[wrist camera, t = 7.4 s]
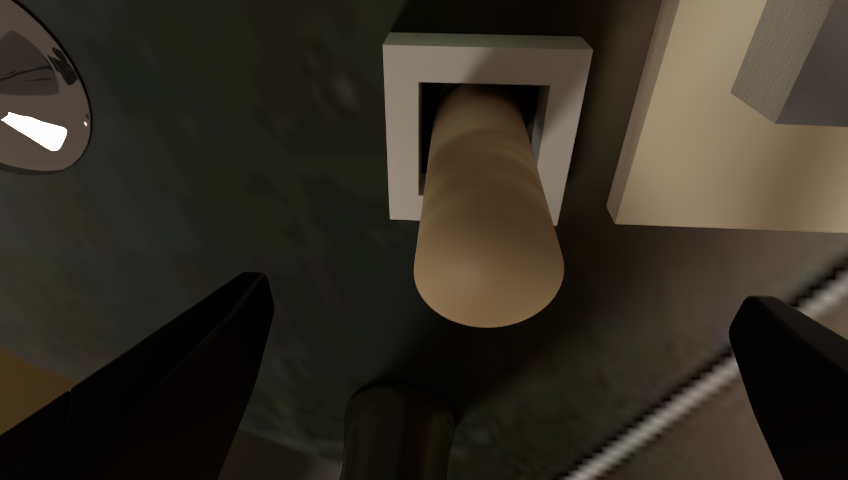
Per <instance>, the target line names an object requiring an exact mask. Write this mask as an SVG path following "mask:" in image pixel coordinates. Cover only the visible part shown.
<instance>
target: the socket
mask: <svg viewBox="0 0 848 480" xmlns="http://www.w3.org/2000/svg"><path fill="white" fill-rule="evenodd" d="M592 53H593V49H592V48H591V47H590V46H589V45H588V44H587V42H586V41H585V40H584V39H583V38H582V37H581V36H539V35H492V34H444V33H397V32H390V33H389V34H388V36H387V38H386V40H385V42H384V44H383V62H384V86H385V110H386V134H387V158H388V183H389V207H390V219H398V220H420V218H421V211H422V203H423V196H424V188H425V181H426V174H423V173H421V163H422V82H436V83H475V84H513V85H540V89H539V95H538V102H537V109H536V115H535V122H534V129H533V135H532V142H531V148H532V152H533V155H534V159H535V162H536V165H537V169H538V172H539V176H540V179H541V183H542V186H543V190H544V193H545V197H546V200H547V204H548V207H549V211H550V214H551V218H552V221H553V225H554V226H557V223H558V218H559V213H560V209H561V204H562V199H563V194H564V189H565V184H566V179H567V175H568V170H569V165H570V160H571V155H572V150H573V145H574V141H575V136H576V131H577V126H578V121H579V116H580V112H581V107H582V102H583V97H584V92H585V87H586V82H587V78H588V73H589V68H590V63H591V58H592Z"/></svg>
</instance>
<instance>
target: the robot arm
mask: <svg viewBox="0 0 848 480" xmlns="http://www.w3.org/2000/svg"><path fill="white" fill-rule="evenodd" d="M273 315H274V303H273V299H272V294H271V290H270V286H269V282H268V279H267V276H266V275H265V274H264V273H259V272H243V273H241V274H239V275H238V276H237V277H235V278H234V279H232V280H231V281H229V282H228V283H226V284H225V285H223V286H222V287H220V288H219V289H217V290H216V291H214V292H213V293H211V294H210V295H208V296H207V297H206V298H204V299H203V300H201V301H200V302H198V303H197V304H195V305H194V306H192V307H191V308H189V309H188V310H186V311H185V312H183V313H182V314H180V315H179V316H177V317H176V318H175V319H173V320H172V321H170V322H169V323H167V324H166V325H164V326H163V327H161V328H160V329H158V330H157V331H155V332H154V333H152V334H151V335H149V336H148V337H146V338H145V339H144V340H142V341H141V342H139V343H138V344H136V345H135V346H133V347H132V348H130V349H129V350H127V351H126V352H124V353H123V354H121V355H120V356H118V357H117V358H115V359H114V360H112V361H111V362H110V363H108V364H107V365H105V366H104V367H102V368H101V369H99V370H98V371H96V372H95V373H93V374H92V375H90V376H89V377H87V378H86V379H84V380H83V381H81V382H80V383H78V384H77V385H76V386H74V387H73V388H72V389H71V392H69V391H67V392H65V393H64V394H62V395H61V396H59V397H58V398H56V399H55V400H53V401H52V402H50V403H49V404H47V405H46V406H44V407H43V408H41V409H40V410H38V411H37V412H35V413H34V414H32V415H31V416H29V417H28V418H26V419H25V420H23V421H21V422H20V423H18V424H17V425H15V426H14V427H12V428H11V429H9V430H8V431H6V432H4V433H3V434H1V435H0V480H218V478H219V475H220V473H221V470H222V467H223V465H224V462H225V460H226V457H227V455H228V452H229V450H230V447H231V445H232V442H233V440H234V437H235V435H236V432H237V430H238V427H239V424H240V422H241V419H242V417H243V414H244V412H245V409H246V407H247V404H248V402H249V399H250V397H251V394H252V391H253V388H254V386H255V382H256V379H257V375H258V372H259V368H260V364H261V360H262V357H263V353H264V349H265V345H266V342H267V338H268V334H269V330H270V327H271V323H272V319H273ZM729 338H730V342H731V345H732V348H733V351H734V355H735V358H736V361H737V364H738V367H739V370H740V373H741V376H742V379H743V382H744V385H745V388H746V391H747V395H748V398H749V401H750V404H751V406H752V409H753V412H754V415H755V417H756V419H757V422H758V424H759V426H760V429H761V431H762V433H763V435H764V438H765V440H766V442H767V444H768V447H769V449H770V451H771V453H772V455H773V458H774V460H775V462H776V464H777V467H778V469H779V471H780V473H781V475H782V478H783V480H848V340H847V339H845V338H844V337H842V336H840V335H839V334H837V333H835V332H834V331H832V330H830V329H828V328H827V327H825V326H823V325H822V324H820V323H818V322H817V321H815V320H813V319H812V318H810V317H808V316H807V315H805V314H803V313H802V312H800V311H798V310H797V309H795V308H793V307H791V306H790V305H788V304H786V303H785V302H783V301H781V300H780V299H778V298H776V297H773V296H760V295H752V296H748V297H747V298H746V299H745V300H744V301H743V303H742V305H741V307H740V309H739V310H738V312H737V314H736V316H735V318H734V320H733V322H732V323H731V325H730V329H729Z"/></svg>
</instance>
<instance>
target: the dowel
mask: <svg viewBox="0 0 848 480" xmlns="http://www.w3.org/2000/svg"><path fill="white" fill-rule="evenodd" d="M563 275H564V261H563V256H562V253H561V249H560V246H559V242H558V239H557V235H556V232H555V228H554V225H553V221H552V218H551V214H550V211H549V207H548V204H547V200H546V197H545V193H544V190H543V186H542V183H541V179H540V176H539V172H538V169H537V165H536V162H535V159H534V155H533V152H532V148H531V145H530V141H529V138H528V134H527V131H526V127H525V124H524V120H523V117H522V113H521V110H520V107H519V105H518V103H517V101H516V99H515V98H514V97H513V95H512V94H511V93H510V92H509V91H508V90H506V89H505V88H503V87H502V86H500V85H498V84H475V83H464V84H461V85H459V86H457V87H455V88H454V89H452V90H451V91H450V92H448V93H447V94H446V95H445V96H444V97H443V99H442V100H441V102H440V103H439V105H438V107H437V109H436V112H435V116H434V121H433V129H432V136H431V144H430V151H429V159H428V166H427V173H426V181H425V188H424V196H423V203H422V211H421V218H420V226H419V233H418V241H417V248H416V256H415V263H414V278H415V283H416V286H417V289H418V291H419V293H420V295H421V296H422V298H423V299H424V301H425V302H426V303H427V304H428V305H429V306H430V307H431V308H432V309H433V310H434V311H436V312H437V313H439V314H440V315H442V316H443V317H445V318H447V319H449V320H452V321H454V322H457V323H460V324H463V325H467V326H473V327H483V328H492V327H502V326H507V325H511V324H515V323H518V322H521V321H523V320H526V319H528V318H530V317H532V316H533V315H535V314H537V313H538V312H540V311H541V310H542V309H543V308H545V307H546V306H547V305H548V304H549V303H550V302H551V301H552V299H553V298H554V297H555V295H556V294H557V292H558V290H559V288H560V286H561V283H562V280H563Z"/></svg>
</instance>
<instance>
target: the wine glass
mask: <svg viewBox="0 0 848 480" xmlns="http://www.w3.org/2000/svg"><path fill="white" fill-rule="evenodd" d="M91 133H92V115H91V109H90V104H89V99H88V96H87V94H86V91H85V88H84V85H83V83H82V80H81V78H80V77H79V75H78V73H77V71H76V69H75V67H74V65H73V63H72V62H71V60H70V59H69V57H68V56H67V55H66V53H65V52H64V50H63V49H62V47H61V46H60V44H59V43H58V42H57V41H56V40H55V39H54V38H53V36H52V35H51V34H50V33H49V32H48V31H47V30H46V28H45V27H44V26H43V25H42V24H41V23H40V22H39V21H38V20H36V19H35V18H34V17H33V16H32V15H31V14H30V13H29V12H28V11H27V10H26V9H25V8H23V7H22V6H21V5H19V4H18V3H17V2H15V1H14V0H0V170H2V171H6V172H11V173H15V174H22V175H47V174H53V173H56V172H60V171H63V170H65V169H67V168H68V167H70V166H72V165H74V164H75V163H76V162H77V161H78V160H79V159H80V158H81V157H82V156H83V154H84V152H85V150H86V149H87V147H88V145H89V141H90V137H91Z"/></svg>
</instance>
